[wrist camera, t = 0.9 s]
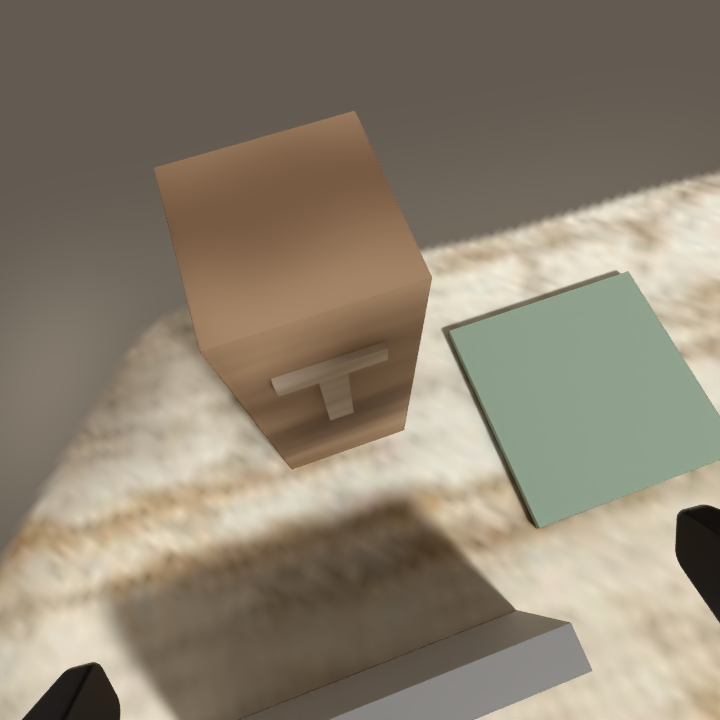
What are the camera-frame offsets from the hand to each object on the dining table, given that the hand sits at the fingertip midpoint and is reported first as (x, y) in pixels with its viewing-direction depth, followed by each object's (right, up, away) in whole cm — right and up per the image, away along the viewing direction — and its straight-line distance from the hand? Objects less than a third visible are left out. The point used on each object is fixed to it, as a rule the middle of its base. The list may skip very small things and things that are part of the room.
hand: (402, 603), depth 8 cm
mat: (+9, +2, +15) cm, 18 cm away
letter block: (-2, +2, +15) cm, 16 cm away
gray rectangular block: (0, -8, +11) cm, 14 cm away
